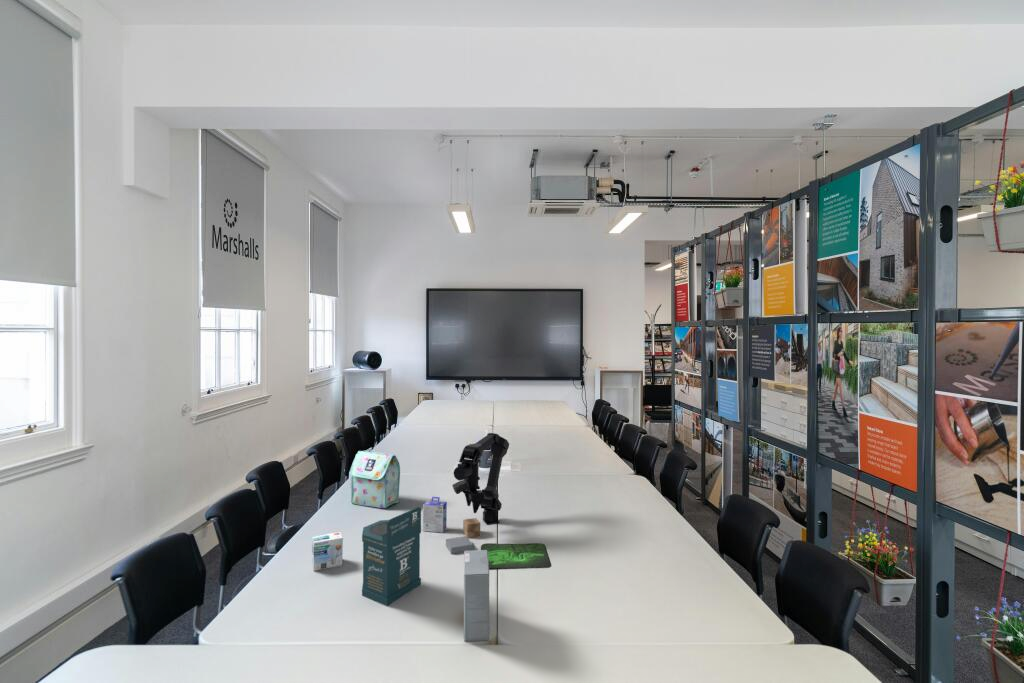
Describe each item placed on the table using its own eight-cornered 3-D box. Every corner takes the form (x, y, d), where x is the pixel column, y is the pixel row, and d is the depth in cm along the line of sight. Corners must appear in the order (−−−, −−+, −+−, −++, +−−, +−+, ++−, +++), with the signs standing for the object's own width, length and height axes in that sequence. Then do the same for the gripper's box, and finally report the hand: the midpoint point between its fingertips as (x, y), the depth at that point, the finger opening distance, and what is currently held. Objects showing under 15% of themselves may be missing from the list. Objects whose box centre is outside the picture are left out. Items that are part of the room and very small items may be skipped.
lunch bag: (346, 505, 252) (346, 453, 251) (367, 495, 267) (367, 446, 266) (383, 511, 243) (383, 457, 242) (402, 501, 258) (403, 450, 258)
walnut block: (476, 531, 220) (476, 517, 220) (480, 536, 215) (480, 522, 214) (463, 533, 218) (463, 519, 218) (467, 538, 212) (467, 524, 212)
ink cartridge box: (447, 528, 223) (447, 496, 223) (443, 533, 218) (443, 500, 217) (426, 526, 225) (426, 495, 224) (422, 531, 219) (422, 499, 219)
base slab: (466, 542, 208) (466, 535, 208) (472, 551, 200) (472, 544, 200) (445, 546, 205) (445, 539, 205) (451, 555, 197) (451, 547, 197)
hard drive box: (464, 611, 156) (464, 549, 156) (487, 610, 157) (488, 549, 157) (463, 642, 141) (463, 573, 140) (489, 641, 141) (490, 572, 141)
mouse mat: (544, 543, 208) (544, 541, 208) (553, 568, 186) (553, 566, 186) (480, 545, 206) (480, 543, 206) (481, 571, 184) (481, 568, 184)
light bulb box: (313, 571, 182) (313, 542, 181) (311, 564, 188) (311, 536, 187) (343, 565, 187) (343, 537, 186) (340, 558, 193) (340, 531, 192)
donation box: (386, 606, 159) (387, 520, 159) (353, 592, 168) (353, 510, 167) (420, 584, 173) (421, 506, 172) (388, 572, 181) (388, 497, 181)
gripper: (448, 470, 221) (448, 504, 222) (460, 482, 204) (460, 519, 204) (472, 468, 226) (472, 501, 226) (485, 479, 208) (485, 515, 209)
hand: (471, 509), depth 216 cm, fingers open, 9 cm apart
